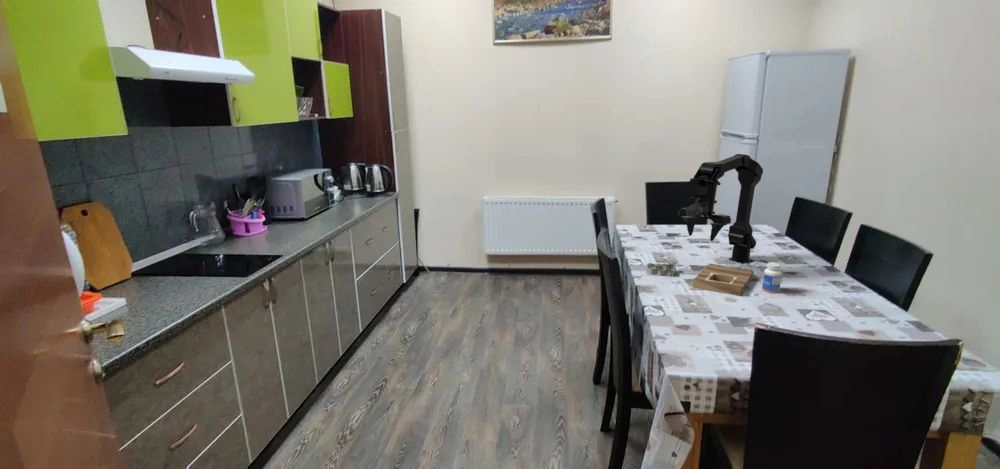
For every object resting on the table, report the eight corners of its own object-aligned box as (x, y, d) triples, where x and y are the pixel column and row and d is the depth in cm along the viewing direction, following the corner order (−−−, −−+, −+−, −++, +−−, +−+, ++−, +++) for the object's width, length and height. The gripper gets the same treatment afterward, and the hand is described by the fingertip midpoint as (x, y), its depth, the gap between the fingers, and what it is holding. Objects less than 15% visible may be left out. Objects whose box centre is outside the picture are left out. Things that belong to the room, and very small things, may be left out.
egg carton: (676, 272, 195) (677, 262, 194) (673, 278, 188) (673, 268, 187) (649, 268, 200) (649, 258, 199) (644, 274, 194) (645, 264, 192)
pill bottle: (758, 288, 176) (761, 261, 173) (773, 287, 176) (776, 261, 174) (767, 293, 171) (771, 267, 168) (782, 292, 171) (786, 266, 168)
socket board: (708, 269, 196) (709, 262, 195) (753, 276, 186) (754, 270, 186) (692, 287, 179) (692, 280, 178) (740, 296, 169) (741, 288, 169)
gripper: (671, 193, 187) (666, 234, 190) (716, 201, 172) (709, 245, 175) (690, 193, 193) (685, 232, 196) (735, 200, 178) (728, 243, 181)
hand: (700, 238), depth 187 cm, fingers open, 9 cm apart
